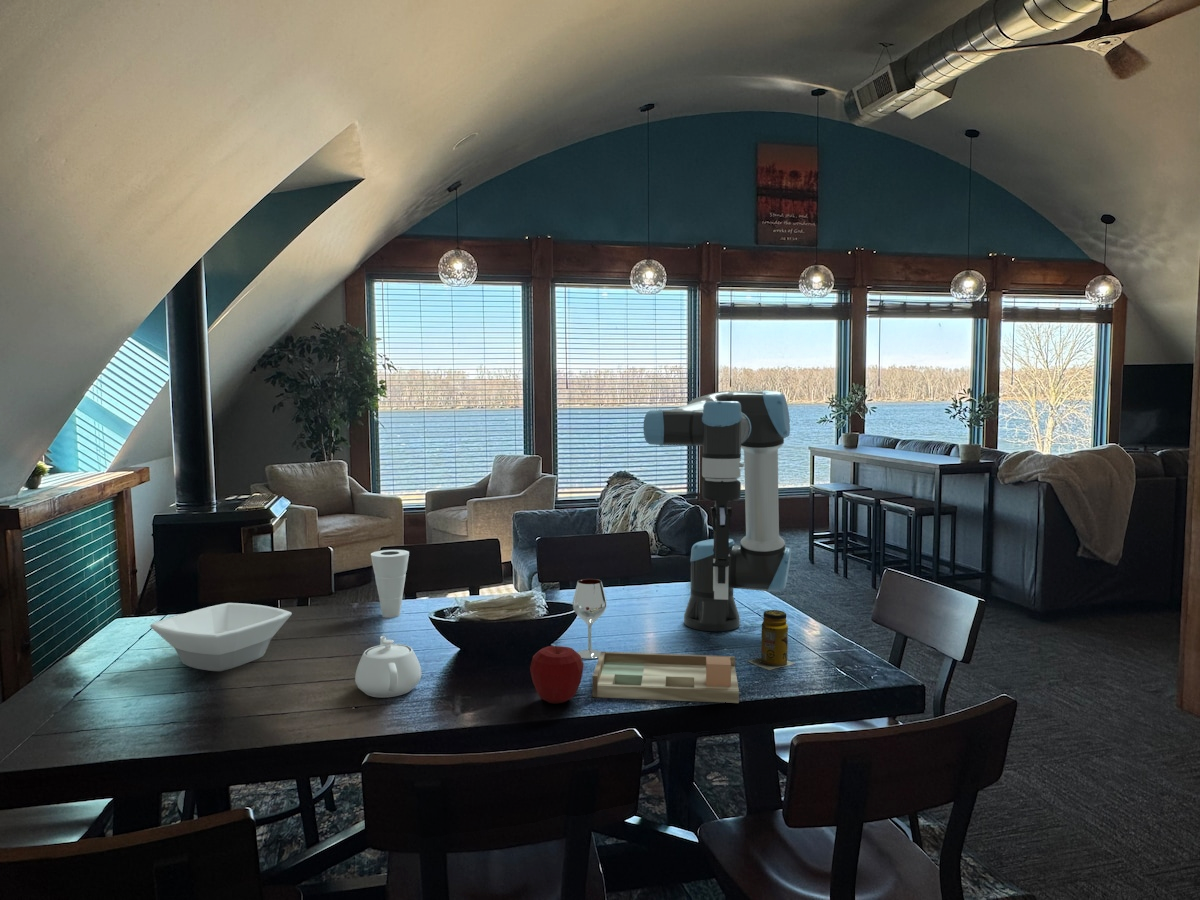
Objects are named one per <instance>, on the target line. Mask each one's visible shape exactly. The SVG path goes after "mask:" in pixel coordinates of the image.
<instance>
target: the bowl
mask: <svg viewBox="0 0 1200 900" xmlns="http://www.w3.org/2000/svg"><path fill="white" fill-rule="evenodd" d="M291 616H292V611H289V610H286V609H282V608H277V607H273V606H268V605H262V604H254V603H253V604H251V603H241V602H240V603H239V602H226V603H220V604H215V605H212V606H210V605H209V606H207V607H203V608H199V609H195V610H192V611H188V612H186V613H181V614H178V615H175V616H171V617H166V618H163V619H161V620H158V621H155V622H153V623H151V624H150V625H149V626H150V628H151V629H152V630H153V631H154V632H155V633H157V635H158V636H160V637H161V638H162V639H163V640H164V641H166V642H167V643H168V644H169V645H170V646H171V647H173V648H174V649H175V652H176V653H177V655H178V657H179V660H181V663H182V664H183V665H185V666H187V667H189V668H193V669H197V670H203V671H209V672H210V671H211V672H224V671H228V670H231V669H234V668H237V667H240V666H242V665H246V664H248V663H250V662H253V661H256V660H259V659H260V658H262V657H263V656H264V655H265V653H266V652H267V650H268V647H269V644H270V642H271V640H272V638H273V637H274V636H275V635H276V633H277V632H278V631H279V630H280V629H281V628H282V626H284V624H286V622H287V621H288V619H289V618H290V617H291Z"/></svg>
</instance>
